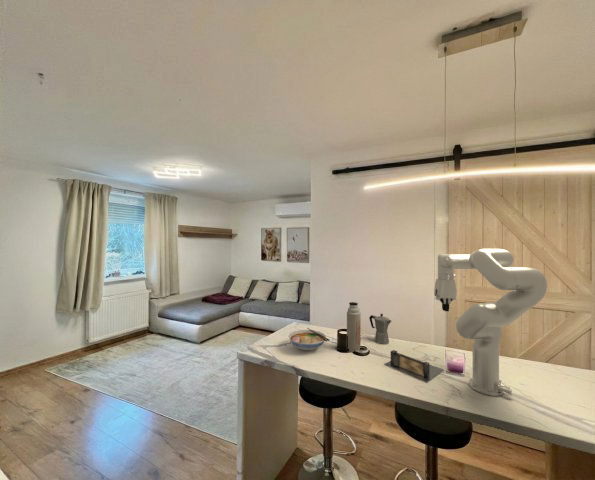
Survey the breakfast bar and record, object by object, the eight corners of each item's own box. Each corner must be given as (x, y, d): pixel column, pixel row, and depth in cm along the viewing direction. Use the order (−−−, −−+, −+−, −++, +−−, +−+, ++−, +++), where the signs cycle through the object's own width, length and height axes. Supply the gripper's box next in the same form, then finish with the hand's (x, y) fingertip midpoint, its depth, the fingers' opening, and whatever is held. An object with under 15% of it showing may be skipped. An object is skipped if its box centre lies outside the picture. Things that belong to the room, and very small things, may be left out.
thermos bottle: (363, 350, 153) (363, 303, 153) (353, 354, 149) (353, 305, 149) (353, 346, 160) (353, 300, 160) (343, 349, 155) (344, 302, 155)
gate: (424, 374, 124) (424, 361, 124) (422, 375, 123) (422, 362, 123) (397, 363, 135) (397, 351, 135) (395, 364, 134) (395, 352, 134)
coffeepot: (394, 342, 165) (394, 314, 165) (387, 346, 159) (387, 317, 159) (373, 336, 176) (373, 309, 176) (365, 340, 170) (365, 312, 170)
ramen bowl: (281, 344, 163) (282, 330, 163) (313, 338, 173) (313, 325, 173) (298, 360, 140) (298, 345, 140) (334, 353, 150) (334, 338, 150)
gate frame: (444, 370, 130) (443, 356, 130) (427, 382, 119) (427, 367, 119) (402, 355, 147) (402, 343, 147) (384, 364, 136) (384, 351, 136)
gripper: (454, 275, 145) (454, 308, 144) (428, 276, 144) (428, 309, 144) (463, 277, 137) (463, 312, 137) (436, 277, 136) (436, 312, 136)
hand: (445, 310), depth 140 cm, fingers closed
